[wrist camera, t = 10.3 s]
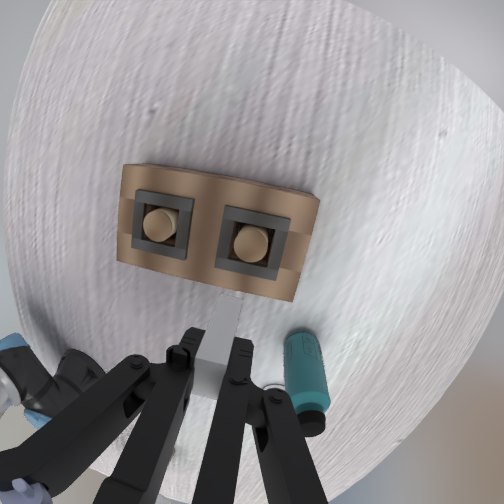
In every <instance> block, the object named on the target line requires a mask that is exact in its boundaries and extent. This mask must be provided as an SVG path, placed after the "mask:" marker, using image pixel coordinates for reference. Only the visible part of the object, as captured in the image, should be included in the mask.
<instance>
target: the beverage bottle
mask: <svg viewBox="0 0 504 504" xmlns="http://www.w3.org/2000/svg"><path fill="white" fill-rule="evenodd" d="M284 344H285V345H284V353H283V354H284V365H283V366H284V369H283V370H284V374H283V376H284V380H285V391H286V392H287V393H288V394H289V396H290V398H291V400H292V403H293V406H294V409H295V412H296V415H297V418H298V420H299V423H300V426H301V429H302V432H303V435H304V437H314V436H317V435H319V434H321V433H322V432H324V430H325V421H326V418H325V414H324V413H325V412H326V411H327V409H328V408H329V406H330V403H331V401H330V397H329V393H328V387H327V382H326V375H325V370H324V365H323V361H324V360H323V361H322V359H323V357H322V356H321V354H322V352H321V349H320V348H321V347H320V345H319V344H320V343H319V342H318V339H317V338H316V337H314V336H313V335H311V334H309V333H296V334H294V335H292V336H290V337H289V338H288V339H287V340H286V342H285V343H284Z"/></svg>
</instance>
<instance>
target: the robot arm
mask: <svg viewBox="0 0 504 504" xmlns="http://www.w3.org/2000/svg"><path fill="white" fill-rule="evenodd" d="M242 301H243V299H241V298H236V297H232V296H227V295H223V294H220V297H219V299H218V302H217V304H216V307H215V309H214V312H213V314H212V317H211V319H210V321H209V324H208V326H207V329H206V330H202V329H198V328H194V327H191V328H189V329H188V330H186V332H185V334H184V336H183V337H182V339H181V342H180V343H179V345H173V346H171V347H169V348H168V349H167V350H166V363H160V364H156V363H150V362H149V361H148V359H147V358H146V357H144V356H142V355H136V354H134V355H130V356H128V357H126V358H125V359H124V360H122V361H121V362H120V363H119V364H118V365H116V366H115V367H114V368H113V369H111V370H110V371H109V372H108V373H107V374H105V373H104V371H103V370H102V369H101V367H100V366H99V365H98V364H97V363H96V362H95V361H94V360H92V359H91V358H90V357H89V356H87V355H86V354H84V353H82V352H80V351H77V350H68V351H67V352H66V353H65V354H64V355H63V356H62V358H61V360H60V363H59V366H58V368H57V371H56V374H55V375H54V376H53V377H52V376H51V375H50V374H49V372H48V371H47V370H46V369H45V367H44V366H43V365H42V363H41V362H40V361H39V359H38V358H37V357H36V355H35V354H34V352H33V351H32V350H31V348H30V345H29V344H27V342H26V341H25V340H24V338H23V337H22V335H20V334H19V333H13V334H10V335H8V336H7V337H5V338H3V339H1V340H0V418H1V417H2V415H3V414H4V413H5V411H6V410H7V409H8V407H9V406H10V405H13V406H18V405H20V404H22V405H23V406H24V407H25V409H24V416H25V417H26V418H27V420H28V421H29V422H30V423H31V424H32V425H34V427H36V428H37V429H38V431H36V432H35V433H34V434H33V435H32V436H30V437H29V438H28V439H27V440H25V441H24V442H23V443H22V444H21V445H20V446H18V447H15V448H12V449H8V450H5V451H1V452H0V500H1V502H2V504H52V499H51V498H53V497H55V496H57V495H59V494H60V493H62V492H63V491H64V490H66V489H67V488H68V487H69V486H70V485H71V484H72V483H73V482H74V481H75V480H76V479H77V478H78V477H79V476H80V475H81V474H82V473H83V472H84V471H85V470H86V469H87V468H88V467H89V466H90V465H91V464H92V463H93V462H94V461H95V460H96V459H97V458H98V457H99V456H100V455H101V454H102V453H103V452H104V450H105V449H106V448H107V447H108V446H109V445H110V444H111V443H112V442H113V441H114V440H115V439H116V438H117V437H118V436H119V435H120V434H121V433H122V432H123V430H124V429H125V428H126V427H127V426H128V425H129V424H130V423H131V422H132V421H133V420H134V419H135V418H136V417H137V415H138V414H139V413H140V412H141V411H142V412H141V414H140V416H139V418H138V420H137V422H136V424H135V426H134V428H133V430H132V432H131V434H130V436H129V439H128V441H127V443H126V445H125V447H124V449H123V451H122V453H121V455H120V458H119V460H118V462H117V464H116V466H115V468H114V471H113V473H112V474H111V476H110V477H107V478H106V479H104V481H103V482H102V484H101V486H100V488H99V490H98V493H97V495H96V497H95V499H94V501H93V504H155V502H156V499H157V496H158V493H159V490H160V487H161V484H162V481H163V478H164V475H165V472H166V469H167V466H168V463H169V460H170V457H171V454H172V451H173V448H174V445H175V442H176V439H177V436H178V433H179V430H180V427H181V424H182V421H183V419H184V416H185V413H186V410H187V407H188V404H189V400H190V394H191V391H192V394H195V395H199V396H203V397H207V398H211V399H215V400H217V404H216V408H215V412H214V416H213V420H212V424H211V428H210V432H209V436H208V440H207V444H206V448H205V452H204V456H203V460H202V464H201V468H200V472H199V476H198V480H197V484H196V488H195V492H194V496H193V500H192V504H233V503H234V496H235V490H236V483H237V476H238V470H239V463H240V456H241V449H242V442H243V435H244V427H245V423H247V424H249V425H252V430H253V435H254V440H255V445H256V449H257V454H258V459H259V463H260V468H261V472H262V477H263V481H264V486H265V490H266V495H267V499H268V503H269V504H328V501H327V499H326V496H325V493H324V490H323V488H322V485H321V482H320V479H319V477H318V474H317V471H316V468H315V465H314V463H313V460H312V457H311V454H310V452H309V449H308V446H307V443H306V440H305V437H304V435H303V432H302V429H301V426H300V423H299V420H298V418H297V415H296V412H295V409H294V406H293V403H292V400H291V398H290V396H289V394H288V393H287V392H286V391H285V390H282V389H280V388H269V389H267V390H263V389H261V388H259V387H257V386H256V385H255V384H254V383H253V382H252V381H251V378H250V373H251V366H252V357H253V350H254V345H253V343H252V341H251V340H248V339H243V338H239V337H235V333H236V329H237V324H238V320H239V315H240V310H241V305H242Z"/></svg>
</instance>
